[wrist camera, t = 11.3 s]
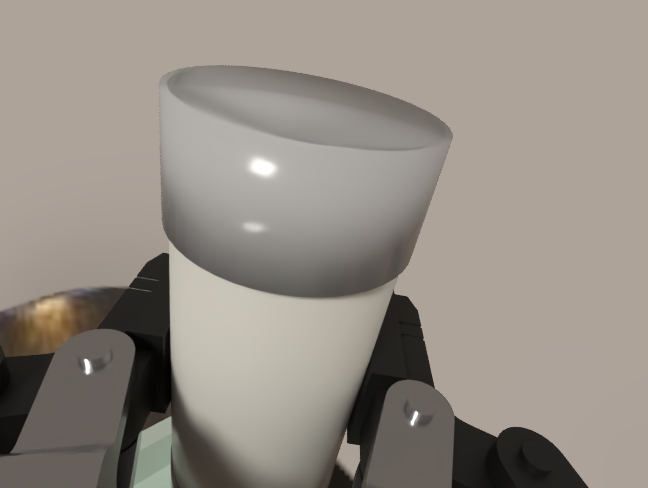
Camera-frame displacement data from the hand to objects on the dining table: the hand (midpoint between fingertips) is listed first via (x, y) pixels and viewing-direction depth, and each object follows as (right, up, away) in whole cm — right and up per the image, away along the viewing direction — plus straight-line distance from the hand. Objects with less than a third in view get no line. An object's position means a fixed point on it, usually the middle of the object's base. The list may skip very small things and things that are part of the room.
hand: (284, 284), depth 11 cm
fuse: (-2, -9, +2) cm, 9 cm away
